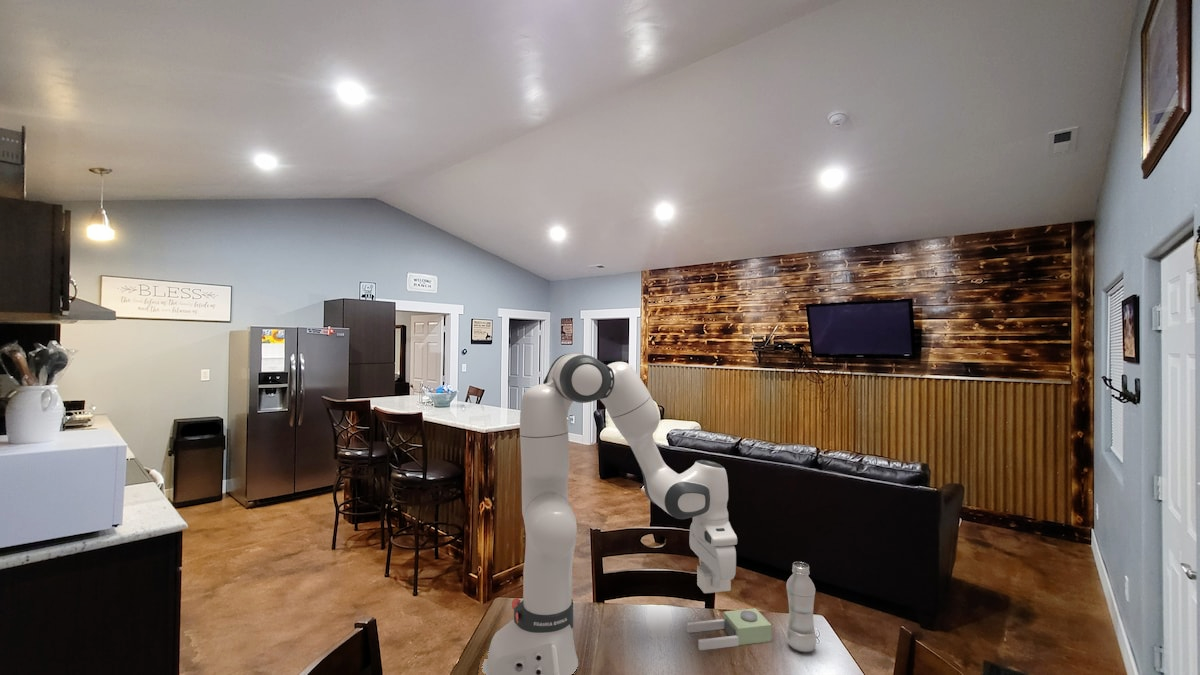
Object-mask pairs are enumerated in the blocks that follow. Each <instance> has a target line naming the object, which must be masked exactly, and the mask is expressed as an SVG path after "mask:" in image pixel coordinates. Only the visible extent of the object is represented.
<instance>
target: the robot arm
mask: <svg viewBox="0 0 1200 675" xmlns="http://www.w3.org/2000/svg"><path fill="white" fill-rule="evenodd" d="M598 400H599V401H600V402H601V403H602V404H603V405H604V407H605V408H606V412H607V413H608V415H609V417H610V419H611V421H612V423H613V424H614V426H615V428H617V430H618V431H619V433H620V435H621V436H622V437H623V438H624V440H625V441H626V443H627V444H628V445H629V447H630V449H631V451H632V453H633V455H634V457H635V458H634V459H635V460H636V461H637V464H638V466H639V468H640V471H641V473H642V478H643V489H644V492H645V493H644V494H645V496H646V497H647V499H648V501H650V502H651V503H652V504H654V505H656V506H658V507H659V508H661V509H662V510H663V511H664V512H666V513H667V514H668V515H670V516H671V517H673V518H675V519H677V520H686V519H687V520H688V519H691V518H692V522H691V524H690V526H689V537H688V538H689V539H688V540H689V542H688V543H689V547H690V550H692V551H693V552H694V554H695V555H696V556H697V557H698V561H699V565H705V566H706V567H707V568H710V569H711V570H712V574H713V579H711V586H712V587H713V588H714V589H717V588H720V581H721V580H730V579H731V580H733V579H734V578H735V576H736V573H737V572H736V570H737V569H736V568H737V551H736V547H735V545H737V544H738V537H737V534H736V533H735V531H734V529H733V527H732V525H731V522H730V521H729V511H728V508H727V507H728V502H729V482H728V480H729V479H728V474H727V470H726V469H725V467H724V466H723V465H721V464H720V463H717V462H715V461H711V460H706V459H700V460H696V461H694V464H693V465H692V466H691V467H689V468H687V469H686V470H684V471H683V472H681V473H678V472H676V470H674V469H672V468H671V467H670V466H669V465H667V464H666V462H665V461H664V459H663V457H662V455H661V453H660V450H659V448H658V446H657V444H656V441H655V440H654V433H655V432H656V430H657V429H658V426H659V423H660V416H659V415H660V414H659V413H658V412H659V411H658V408H657V405H656V404H655V401H654V399H653V397H652V395H651V393H650V391H649V390H648V388H647V385H645V383H644V381H643V380H642V379H641V377H640V376H639V374H638V373H637V371H636V370H635V368H633V366H631V365H630V363H628V362H626V361H625V362H624V361H615V362H611V363H608V364H605V363H604V362H602V361H600V360H599V359H597V358H596V357H594V356H591V355H589V354H588V355H587V354H585V353H581V352H573V353H565V354H561V355H560V356H558V357H557V358H556V359H555V360H554V361H553V362H552V364H551V366H550V368H549V370H548V372H547V373H546V376H545V378H544V379H543V382H542V384H541V383H540V384H536V385H533V386H531V387H529V388H527V389H526V390H525V391H524V392H523V395H522V398H521V405H520V411H519V412H520V414H519V415H520V416H519V442H520V463H521V464H520V465H521V466H520V467H521V512H522V513H521V515H522V518H523V524H524V531H525V552H524V563H523V564H524V565H523V574H522V575H523V576H522V577H523V578H522V579H523V588H522V589H523V591H522V593H523V594H522V595H523V596H522V600H521V599H520V598H518V597H515V598H512V601H511V607H512V608H511V609H512V610H513V619H511V620H510V621H509V622H508V623H507V624H505V625H504V626H503V627H501V628H500V629H499V630H498V631H496V632H495V634H494V635H493V637H492V639H491V642H490V645H489V649H488V650H489V651H488V652H489V653H488V654H487V655H488V659H484V662H483V664H482V665H483V666H482V667H481V668H483V669H482V672H483V673H484V674H486V675H571V674H573V673H574V672H575V671H576V669H577V670H578V668H579V658H578V655H577V653H576V652H577V651H576V648H575V642H574V640H575V639H574V631H573V628H574V622H575V605H574V604H575V603H574V600H573V597H572V594H573V593H572V592H573V587H572V586H573V564H574V563H573V562H574V556H575V548H576V540H577V534H578V533H577V532H578V531H577V530H578V526H577V518H576V515H575V513H574V511H573V508H572V507H571V504H570V500H569V490H568V488H569V486H568V485H569V472H570V465H571V463H570V461H571V460H570V445H569V444H570V442H569V440H570V439H569V425H568V424H569V423H568V415H569V410H570V407H571V405H572V404H573V403H574V402H575V403H579V404H580V403H581V404H585V403H592V402H595V401H598ZM577 667H578V668H577ZM576 672H577V671H576ZM576 672H575V673H576ZM575 673H574V674H575Z"/></svg>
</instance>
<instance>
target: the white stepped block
mask: <svg viewBox="0 0 1200 675" xmlns="http://www.w3.org/2000/svg"><path fill="white" fill-rule="evenodd" d="M696 574H697V575H696V578H697V579H696V581H697V582H696V584H697V587H699V588H700V590H701V591H702V593H703V594H713V593H720V592H721V593H722V592H730V591H731V590H732V586H731V585H732V579H730V580H721V581H720V588H717V589H714V588H713V587H712V586H711V579H713V574H712V570H711V569H710V568H707V567H706V566H705V565H700V564H699V565H696Z"/></svg>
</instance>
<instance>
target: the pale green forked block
mask: <svg viewBox="0 0 1200 675" xmlns="http://www.w3.org/2000/svg"><path fill="white" fill-rule="evenodd" d="M772 628H773V625H772V624H771V622H769V621H768V619H766V617H765V616H764V615H763V614H762V613H761V612H760V611H759V610H758V609H757V608H755V607H754V608H746V609H736V610H726V611H723V618H720V619H710V620H709V619H708V620H701V621H690V622H686V632H687V633H688V634H690V633H699V632H707V631H708V632H709V631H710V632H711V631H716V630H724V632H725V633H726V634H727V635H728V636H718V637H711V638H701V639H700V638H699V639H698V640H697V641H698V645H697V649H698V650H699V651H706V650H716V649H723V648H731V647H738V646H743V645H744V646H745V645H749V644H750V645H751V644H760V643H769V642H772V639H773V637H772V636H773V635H772V634H773V633H772V631H773V630H772Z"/></svg>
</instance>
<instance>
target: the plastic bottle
mask: <svg viewBox="0 0 1200 675" xmlns="http://www.w3.org/2000/svg"><path fill="white" fill-rule="evenodd" d="M809 565H810V564H808V563H806V562H802V561H794V562H793V563H792V567H791V568H792V569H791V571H792V572H791V573H792V574H791V575H790V576H789V578H788V579H787V581H786V584H785V585H786V586H785V587H786V594H787V599H788V621H787V622H788V623H787V627H786V640H787V643H788V644H789V646H790V647H791V648H792V649H793V650H795V651H797V652H800V653H811V652H813V651H814V650H815V649H816V645H817V635H816V630H815V624H814V605H815V604H814V603H815V597H816V596H815V595H816V587H815V584H814V582H813V580H812V579H811V578H810V576H809V575H810V566H809Z"/></svg>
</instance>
